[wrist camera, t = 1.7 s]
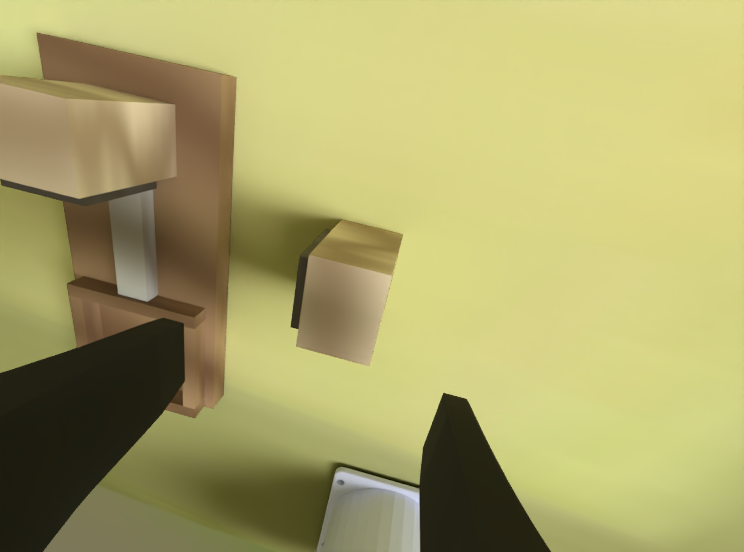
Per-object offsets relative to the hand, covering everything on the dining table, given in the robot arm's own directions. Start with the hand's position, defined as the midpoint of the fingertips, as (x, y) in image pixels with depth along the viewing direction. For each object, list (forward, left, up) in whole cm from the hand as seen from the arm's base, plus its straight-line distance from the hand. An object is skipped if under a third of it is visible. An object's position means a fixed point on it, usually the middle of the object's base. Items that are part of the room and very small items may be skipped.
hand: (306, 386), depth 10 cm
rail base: (-2, +11, -9) cm, 14 cm away
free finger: (0, 0, -9) cm, 9 cm away
